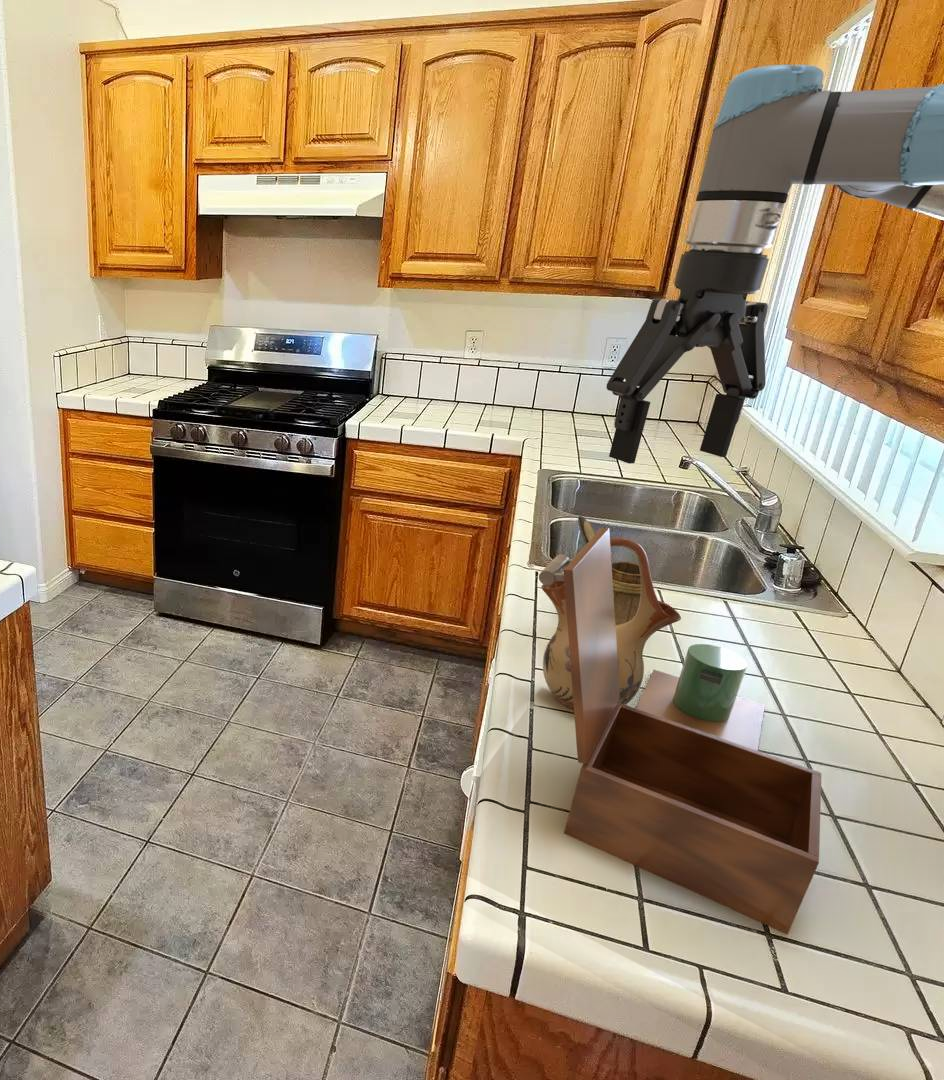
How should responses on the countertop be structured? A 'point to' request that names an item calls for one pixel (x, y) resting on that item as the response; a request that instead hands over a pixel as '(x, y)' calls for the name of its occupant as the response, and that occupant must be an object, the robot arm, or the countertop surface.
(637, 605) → the wooden mug
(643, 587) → the ceramic vessel
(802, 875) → the chest
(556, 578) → the chest lid
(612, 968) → the countertop surface
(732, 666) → the pot
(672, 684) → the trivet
